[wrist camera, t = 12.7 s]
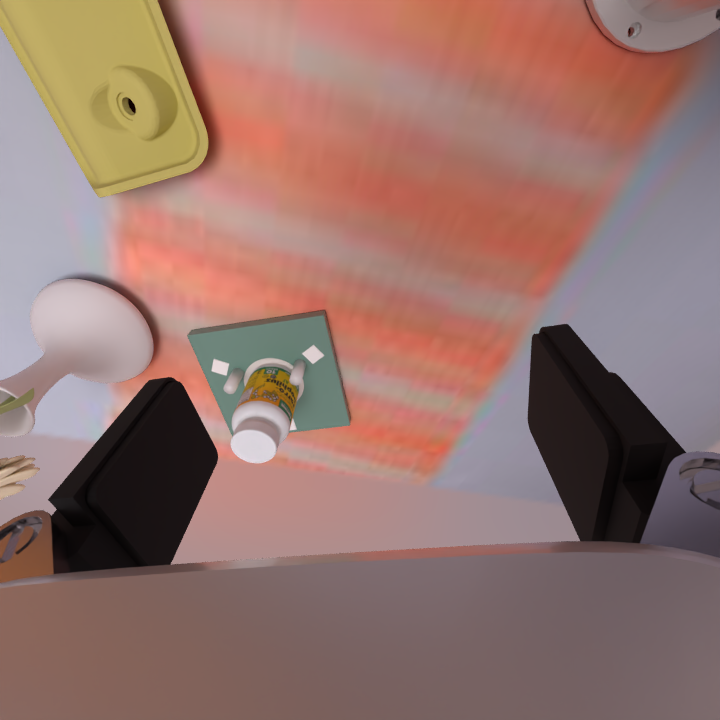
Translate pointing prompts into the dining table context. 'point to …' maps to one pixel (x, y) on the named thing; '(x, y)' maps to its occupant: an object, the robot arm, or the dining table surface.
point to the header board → (279, 347)
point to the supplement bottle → (263, 413)
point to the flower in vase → (71, 356)
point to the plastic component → (110, 87)
